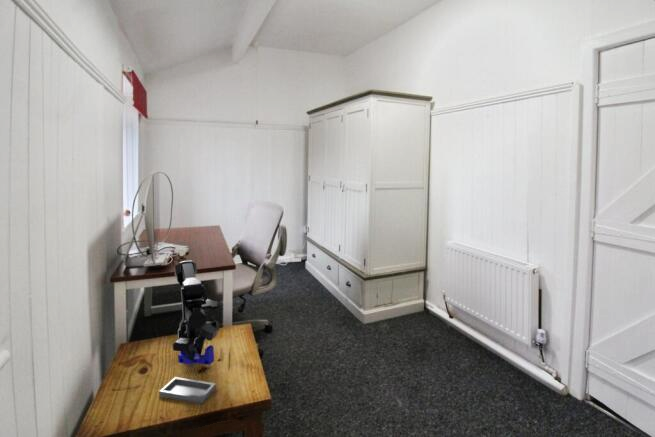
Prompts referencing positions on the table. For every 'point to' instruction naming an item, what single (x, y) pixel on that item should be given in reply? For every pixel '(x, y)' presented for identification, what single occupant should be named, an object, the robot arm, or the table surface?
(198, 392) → the tray
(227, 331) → the table surface
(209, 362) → the blue curved cradle
